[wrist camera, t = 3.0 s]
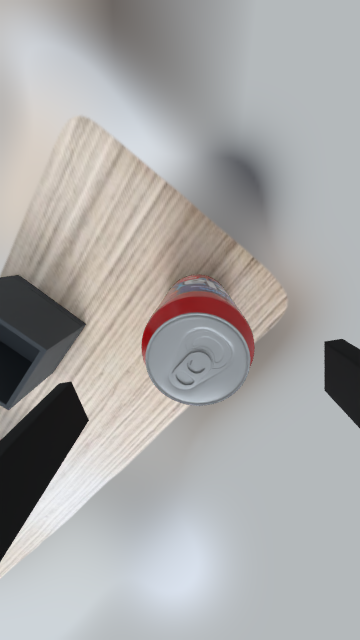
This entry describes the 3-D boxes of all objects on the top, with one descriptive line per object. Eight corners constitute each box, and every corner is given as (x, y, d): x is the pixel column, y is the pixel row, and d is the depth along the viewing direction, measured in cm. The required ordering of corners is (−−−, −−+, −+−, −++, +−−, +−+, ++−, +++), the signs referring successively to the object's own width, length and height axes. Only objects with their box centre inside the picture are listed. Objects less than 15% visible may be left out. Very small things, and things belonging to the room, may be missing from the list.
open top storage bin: (18, 274, 27) (-50, 284, 20) (86, 324, 29) (47, 350, 21) (-10, 331, 30) (-78, 357, 23) (52, 372, 32) (8, 410, 24)
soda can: (155, 308, 27) (111, 371, 13) (191, 260, 25) (184, 272, 11) (201, 342, 28) (206, 433, 14) (240, 298, 26) (291, 356, 12)
